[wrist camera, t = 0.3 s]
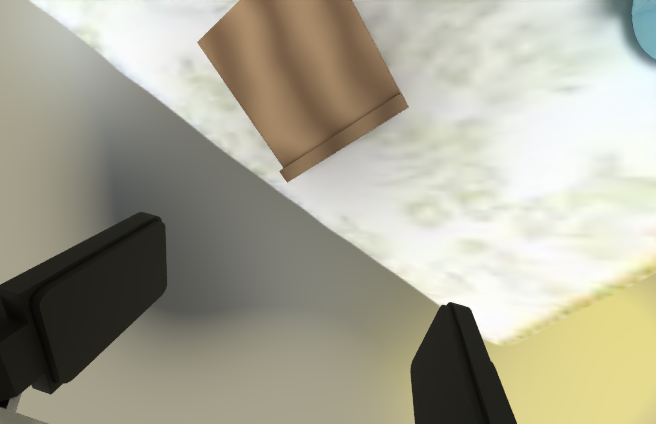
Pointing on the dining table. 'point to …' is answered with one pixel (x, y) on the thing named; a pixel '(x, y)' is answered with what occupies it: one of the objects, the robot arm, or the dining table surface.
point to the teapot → (645, 24)
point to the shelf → (303, 76)
